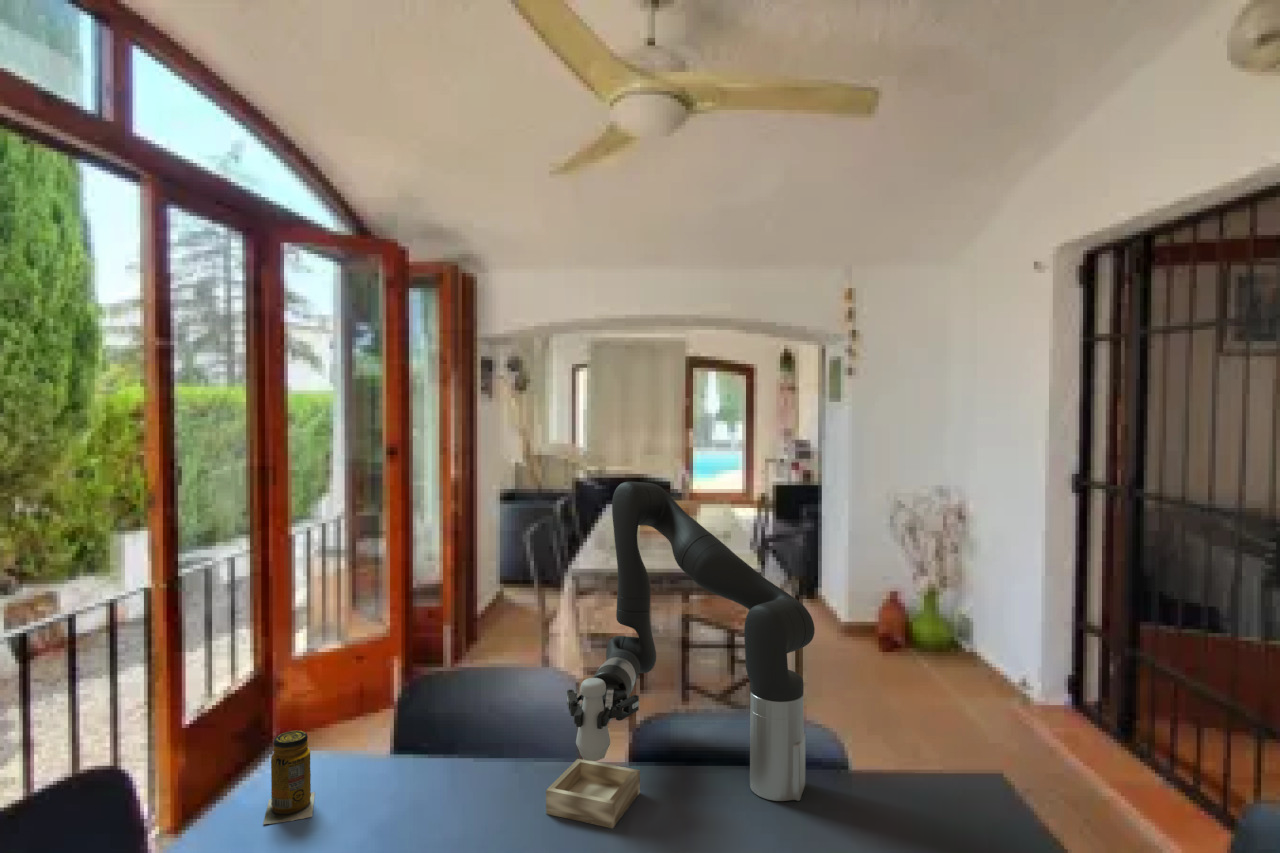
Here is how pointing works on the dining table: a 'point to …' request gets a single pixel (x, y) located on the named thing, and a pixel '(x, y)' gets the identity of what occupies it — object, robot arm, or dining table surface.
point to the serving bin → (593, 793)
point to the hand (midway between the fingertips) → (589, 722)
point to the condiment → (290, 779)
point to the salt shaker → (592, 721)
